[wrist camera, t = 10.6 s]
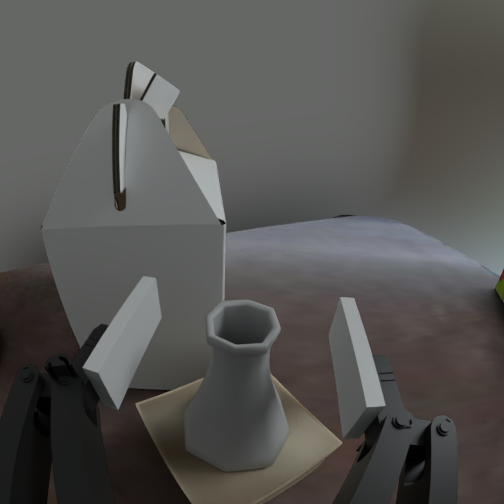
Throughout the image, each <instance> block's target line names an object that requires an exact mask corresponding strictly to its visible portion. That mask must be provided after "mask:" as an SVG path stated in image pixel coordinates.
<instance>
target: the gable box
mask: <svg viewBox="0 0 504 504" xmlns="http://www.w3.org/2000/svg"><path fill="white" fill-rule="evenodd" d="M179 92H180V91H179V90H178V89H176V88H175V87H174V86H172V85H171V84H169V83H168V82H167V81H165V80H164V79H163V78H161V77H160V76H158V75H157V74H155V73H154V72H152V71H150V70H149V69H148V68H146V67H145V66H143V65H142V64H140V63H139V62H130V63H129V65H128V67H127V71H126V79H125V90H124V99H123V100H118V101H115V102H113V103H110V104H108V105H107V106H105V107H104V108H102V109H101V110H100V111H99V112H98V113H97V114H96V115H95V117H94V118H93V120H92V122H91V123H90V125H89V127H88V128H87V130H86V132H85V134H84V136H83V137H82V139H81V141H80V143H79V145H78V147H77V148H76V150H75V152H74V154H73V156H72V158H71V160H70V162H69V164H68V166H67V168H66V170H65V172H64V175H63V177H62V179H61V181H60V183H59V185H58V188H57V190H56V193H55V195H54V197H53V200H52V202H51V205H50V207H49V209H48V212H47V215H46V217H45V220H44V223H43V225H42V226H41V233H42V237H43V241H44V245H45V249H46V253H47V257H48V261H49V264H50V268H51V271H52V274H53V278H54V281H55V284H56V287H57V290H58V293H59V296H60V299H61V302H62V304H63V307H64V310H65V313H66V315H67V318H68V320H69V323H70V325H71V328H72V330H73V333H74V335H75V337H76V340H77V342H78V344H79V346H80V348H81V347H82V345H84V342H85V341H86V339H88V337H89V335H90V334H91V332H92V331H93V329H95V328H96V327H97V326H99V325H100V324H105V325H110V323H111V322H112V320H113V319H114V317H115V316H116V314H117V313H118V311H119V310H120V308H121V307H122V306H123V304H124V303H125V301H126V300H127V298H128V297H129V295H130V294H131V293H132V291H133V290H134V288H135V287H136V285H137V284H138V283H139V281H140V280H141V278H142V277H143V276H146V277H153V278H156V282H157V289H158V296H159V303H160V309H161V315H162V318H161V320H160V322H159V324H158V326H157V328H156V330H155V332H154V334H153V336H152V338H151V340H150V342H149V344H148V346H147V348H146V350H145V353H144V355H143V357H142V359H141V361H140V363H139V365H138V367H137V370H136V372H135V374H134V376H133V378H132V380H131V383H130V385H129V387H128V388H138V389H158V390H174V389H177V388H179V387H182V386H184V385H187V384H189V383H192V382H194V381H197V380H199V379H202V378H204V377H205V375H206V373H207V371H208V367H209V362H210V358H211V354H212V346H210V345H208V343H207V339H206V326H205V316H206V315H207V314H208V313H209V312H210V311H211V310H212V309H213V308H214V307H215V306H216V305H217V304H218V303H219V302H220V301H224V285H225V243H226V220H225V214H224V208H223V202H222V196H221V190H220V184H219V178H218V171H217V166H216V162H215V161H214V160H213V159H212V157H211V156H210V154H209V153H208V151H207V149H206V148H205V146H204V145H203V143H202V141H201V140H200V138H199V137H198V135H197V134H196V132H195V130H194V129H193V127H192V126H191V124H190V123H189V121H188V119H187V118H186V116H185V115H184V113H183V112H182V111H181V109H179V108H178V107H176V106H173V103H174V101H175V100H176V98H177V96H178V94H179ZM115 199H116V201H117V205H118V209H117V208H116V204H115Z"/></svg>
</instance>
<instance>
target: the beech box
mask: <svg viewBox="0 0 504 504" xmlns="http://www.w3.org/2000/svg"><path fill="white" fill-rule="evenodd" d="M270 376H271V379H272V381H273V384H274V386H275V388H276V390H277V393H278V395H279V397H280V400H281V403H282V407H283V410H284V413H285V417H286V420H287V423H288V427H289V430H290V434H289V436H288V438H287V440H286V442H285V444H284V446H283V448H282V449H281V451H280V453H279V455H278V457H277V459H276V460H275V462H274V464H273V466H270V467H264V468H257V469H249V470H240V471H229V472H225V471H223V470H221V469H219V468H217V467H215V466H213V465H211V464H209V463H207V462H205V461H204V460H202V459H200V458H198V457H196V456H195V455H193V454H191V453H189V452H188V451H186V449H185V432H184V413H185V411H186V409H187V407H188V406H189V404H190V402H191V401H192V399H193V398H194V396H195V394H196V393H197V391H198V389H199V387H200V385H201V383H202V381H203V379H204V378H202V379H199V380H197V381H194V382H192V383H189V384H187V385H184V386H182V387H179V388H177V389H174V390H172V391H169V392H166V393H164V394H161V395H158V396H155V397H153V398H150V399H147V400H144V401H141V402H138V403H135V404H136V407H137V409H138V411H139V413H140V415H141V417H142V419H143V421H144V424H145V426H146V428H147V430H148V432H149V434H150V435H151V437H152V439H153V441H154V443H155V445H156V447H157V449H158V450H159V452H160V454H161V456H162V458H163V459H164V461H165V463H166V464H167V466H168V468H169V470H170V471H171V473H172V474H173V476H174V478H175V479H176V481H177V482H178V484H179V486H180V487H181V489H182V490H183V492H184V493H185V495H186V496H187V498H188V499H189V500H190V502H191V503H192V504H264V503H266V502H268V501H269V500H271V499H273V498H274V497H276V496H278V495H279V494H281V493H282V492H284V491H285V490H287V489H288V488H290V487H291V486H293V485H294V484H296V483H297V482H299V481H300V480H302V479H303V478H304V477H306V476H307V475H309V474H310V473H311V472H313V471H314V470H315V469H317V468H318V467H319V465H320V464H321V463H322V462H323V461H324V460H325V459H326V458H327V456H329V455H330V454H331V453H332V452H334V451H335V450H336V449H337V448H338V447H340V446H341V444H342V442H341V441H340V440H339V439H338V438H337V437H336V436H335V435H333V434H332V433H331V432H330V431H329V430H328V429H327V428H326V427H325V426H324V425H323V424H322V423H320V422H319V421H318V420H317V419H316V418H315V417H314V416H313V415H312V414H311V413H310V412H309V411H308V410H307V409H306V408H305V407H304V406H303V405H302V404H301V403H300V402H299V401H298V400H297V399H295V398H294V397H293V396H292V395H291V394H290V393H289V392H288V391H287V390H286V389H285V388H284V387H283V386H282V385H281V383H280V382H279V381H278V380H277V379H276V378H275V377H274V376H273V375H272V374H271V373H270Z"/></svg>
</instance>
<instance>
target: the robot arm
mask: <svg viewBox="0 0 504 504" xmlns="http://www.w3.org/2000/svg"><path fill="white" fill-rule="evenodd" d="M161 318H162V315H161V309H160V303H159V296H158V289H157V282H156V278H153V277H146V276H143V277H142V278H141V280H140V281H139V283H138V284H137V285H136V287H135V288H134V290H133V291H132V293H131V294H130V295H129V297H128V298H127V300H126V301H125V303H124V304H123V306H122V307H121V308H120V310H119V311H118V313H117V314H116V316H115V317H114V319H113V320H112V322H111V323H110V325H105V324H100V325H99V326H97V327H96V328H95V329H93V331H92V332H91V334H90V335H89V337H88V339H86V341H85V342H84V345H82V347H81V348H80V350H79V351H78V353H77V355H76V356H75V358H74V359H73V361H71V359H70V358H69V357H68V356H67V355H65V354H57V355H53V356H52V357H50V358H49V359H48V360H47V361H46V363H45V366H44V367H45V369H46V370H47V372H48V374H47V373H40V372H39V370H38V369H37V368H36V367H35V366H33V365H26V366H24V367H22V368H21V369H20V370H19V371H18V373H17V375H16V377H15V380H14V382H13V385H12V387H11V390H10V393H9V396H8V398H7V401H6V404H5V407H4V410H3V413H2V416H1V419H0V504H47V499H48V487H49V478H50V471H51V464H52V463H53V473H54V482H55V489H56V496H57V502H58V504H116V502H115V498H114V494H113V490H112V486H111V482H110V477H109V472H108V467H107V462H106V457H105V451H104V445H103V438H102V431H101V423H100V414H99V408H98V406H97V403H98V401H99V399H100V400H101V401H102V403H103V405H105V406H108V407H111V408H113V409H117V410H119V407H120V405H121V403H122V400H123V398H124V396H125V394H126V391H127V389H128V387H129V385H130V383H131V380H132V378H133V376H134V374H135V372H136V370H137V367H138V365H139V363H140V361H141V359H142V357H143V355H144V353H145V350H146V348H147V346H148V344H149V342H150V340H151V338H152V336H153V334H154V332H155V330H156V328H157V326H158V324H159V322H160V320H161ZM328 336H329V342H330V348H331V354H332V361H333V367H334V374H335V381H336V388H337V395H338V402H339V410H340V418H341V427H342V436H343V439H354V438H360V437H361V436H362V434H363V433H365V441H364V442H363V443H362V444H361V445H360V446H359V447H358V449H357V450H356V451H359V450H360V451H359V453H358V455H357V457H356V459H355V461H354V464H353V466H352V468H351V470H350V472H349V474H348V476H347V478H346V480H345V481H344V483H343V485H342V487H341V489H340V491H339V493H338V494H337V496H336V498H335V500H334V501H333V503H332V504H389V501H390V499H391V497H392V494H393V492H394V489H395V487H396V484H397V481H398V479H399V485H398V493H397V500H396V504H457V490H458V458H457V439H456V428H455V424H454V422H453V421H452V420H451V419H450V418H449V417H447V416H438V417H436V418H435V419H433V421H426V420H420V419H416V418H414V417H413V415H412V414H411V413H410V412H409V411H407V410H405V409H404V407H403V404H402V400H401V397H400V393H399V390H398V387H397V383H396V381H395V377H394V374H393V371H392V367H391V364H390V362H389V361H388V360H387V359H386V357H385V356H384V355H372V353H371V350H370V346H369V343H368V340H367V337H366V333H365V330H364V327H363V324H362V321H361V318H360V315H359V312H358V309H357V306H356V303H355V300H354V298H345V297H340V300H339V303H338V306H337V310H336V313H335V316H334V319H333V323H332V326H331V329H330V332H329V335H328ZM399 476H400V477H399Z"/></svg>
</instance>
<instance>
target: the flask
mask: <svg viewBox="0 0 504 504" xmlns="http://www.w3.org/2000/svg"><path fill="white" fill-rule="evenodd" d="M205 326H206V339H207V343H208V345H210V346H212V354H211V358H210V362H209V367H208V371H207V373H206V375H205V377H204V379H203V381H202V383H201V385H200V387H199V389H198V391H197V393H196V394H195V396H194V398H193V399H192V401H191V402H190V404H189V406H188V407H187V409H186V411H185V413H184V432H185V449H186V451H188V452H189V453H191V454H193V455H195V456H196V457H198V458H200V459H202V460H204V461H205V462H207V463H209V464H211V465H213V466H215V467H217V468H219V469H221V470H223V471H225V472H229V471H240V470H249V469H257V468H264V467H270V466H273V464H274V462H275V460H276V459H277V457H278V455H279V453H280V451H281V449H282V448H283V446H284V444H285V442H286V440H287V438H288V436H289V434H290V430H289V427H288V423H287V420H286V417H285V413H284V410H283V407H282V403H281V400H280V397H279V395H278V393H277V390H276V388H275V386H274V384H273V381H272V379H271V376H270V365H269V354H270V347H271V346H272V344H273V343H274V341H275V340H276V338H277V336H278V335H279V333H280V329H281V327H280V325H279V322H278V319H277V317H276V314H275V311H274V309H273V308H270V307H268V306H265V305H262V304H259V303H256V302H254V301H251V300H229V301H220V302H219V303H218V304H217V305H216V306H215V307H214V308H213V309H212V310H211V311H210V312H209V313H208V314H207V315H206V316H205Z"/></svg>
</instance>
